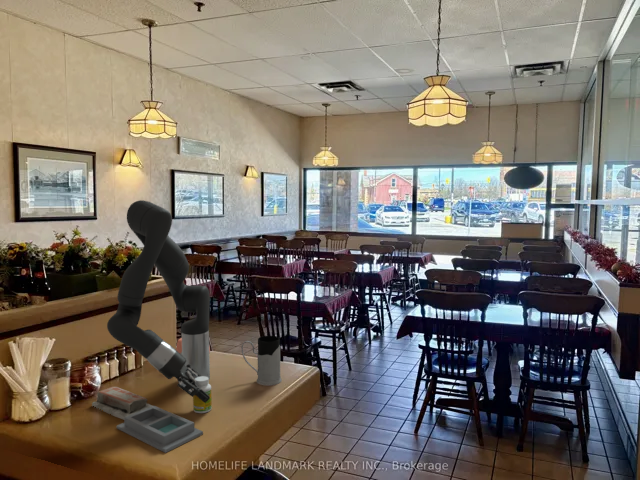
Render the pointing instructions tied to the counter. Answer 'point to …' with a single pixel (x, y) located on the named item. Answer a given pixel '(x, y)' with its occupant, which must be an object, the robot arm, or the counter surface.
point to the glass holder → (267, 360)
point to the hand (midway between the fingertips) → (208, 395)
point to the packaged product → (120, 402)
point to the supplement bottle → (197, 402)
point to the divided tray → (159, 428)
